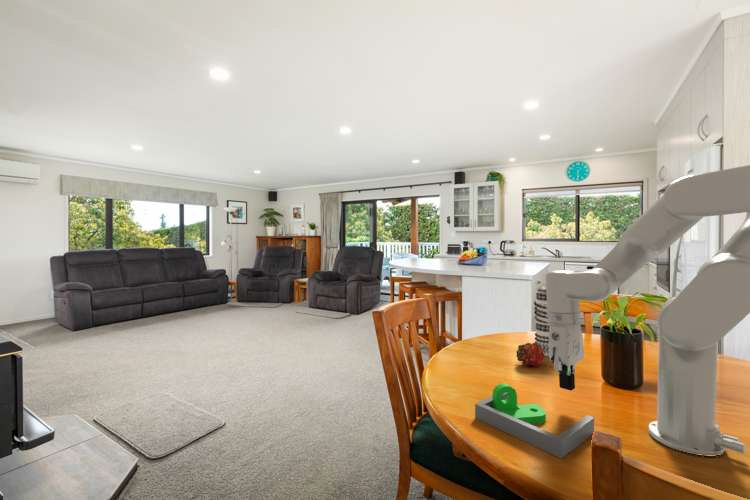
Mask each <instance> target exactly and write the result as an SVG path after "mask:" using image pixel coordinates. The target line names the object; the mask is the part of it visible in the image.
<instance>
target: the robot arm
mask: <svg viewBox="0 0 750 500" xmlns="http://www.w3.org/2000/svg"><path fill="white" fill-rule="evenodd" d="M742 213H746V216H745V218H744V220H743V223H742V224H741V225H740V226H739V228H738V229H737V230H736V231H735V232H734V233H733V235H732V236H731V237H730V238H729V240H727V242H725V243H724V244H723V245H722V246H721V247H720V249H718V250H717V252H716V253H715V254H714V255H712V257H711V258H709V259H708V260H706V261H705V262H704V263H702V265H701V266H700V267H699V269H698V270H697V273H696V275H695V277H694V278H693V279H692V280H690V282H689V283H688V284H686V286H685V287H684V288H683V289H682V290H681V291H680V293H678V294H677V295H676V296H674V297H671V298H669V299H667V300H666V301H665V302H664V303H663V304H662V306H661V307H660V309H659V311H658V316H657V317H658V318H657V328H658V364H657V400H656V401H657V403H656V404H657V406H656V407H657V408H656V409H657V411H656V420H655V421H651V422H649V424H648V433H649V435H650V436H651V437H653V439H655V440H656V441H657V442H659V443H661V444H663V445H664V446H666V447H669V448H670V449H673V450H675V449H676V450H675V451H678V450H679V452H681V451H683V452H682V453H684V452H689V453H693V454H702V455H718V454H722V453H723V452H724V451H726V449H729V450H731V451H733V452H736V453H740V454H742V455H745V453H746V452H745V451H746V444H745V443H743V442H740V441H739V438H738V437H736V436H731V435H729V434H724V433H723V432H722V431H720V425H719V424H716V402H717V401H716V399H717V398H716V397H717V395H716V393H717V375H718V373H717V370H718V343H719V342H720V341H721V340H722V339H723V338H724V337H725V336H727V334H729V333H730V332H731V331H732V330H733V329H734V328H735V327H736V326H738V324H739V323H740V322H742V321H743V320H744V319H745V318H746V317H747V316H748V315H750V164H748V165H742V166H736V167H731V168H726V169H720V170H719V169H718V170H715V171H709V172H702V173H696V174H690V175H686V176H683V177H680V178H677V179H675V180H674V181H672V182H671V183H670V184H669V185H667V187H666V188H665V190H664V192H663V194H662V195H661V196H660V197H659V198H658V199H657V200H656V201H655V202H653V204H652V205H651V206H650V207H649V208H647V210H646V211H645V212H643V214H641V216H639V218H637V219H636V220H635V221H634V222H633V223H632V224H631V225H629V227H627V228H626V230H625V231H624V232H623V233H622V234H621V236H620V238H619V241H618V242H617V243H616V245H615V246H614V247H613V248H612V249H611V251H609V252H608V253H607V254H606V255H605V256H604V257H603V258H602V259H601V260H600V261H599V262H598V263H597V264H596V265H595V266H593V267H592V268H591V269H590V270H587V271H579V272H578V271H577V272H576V271H574V270H568V269H567V270H566V269H565V270H563V269H562V270H560V269H559V270H551V271H547V273H546V275H545V287H546V293H547V312H548V323H549V324H550V325H549V356H548V357H549V361H550V362H551V364H553V370H556V371H557V373H558V380H559V387H560V388H561V389H563V390H568V391H573V390H575V389H576V381H575V379H576V377H575V372H576V363H579V362H581V361H582V360H584V358H585V348H584V347H585V346H584V339H583V331H582V326H581V323H582V321H581V308H580V307H581V306H580V300H581V301H586V302H590V303H591V302H593V303H597V302H602V301H603V302H604V301H605V300H606V299H608V298H609V297H610V296H611V295H612V294H614V293H615V292H616V291H617V290H618V289H619V288H620V287H621V286H623V284H625V283H626V282H627V281H628V280H629V279H630V278H632V277H633V275H635V274H636V273H637V272H638V271H640V270H641V269H642V268H643V267H645V266H646V265H647V264H649V263H650V262H652V261H655V259H657V258H658V257H659V256H660V255H662V254H663V253H664V252H666V251H667V249H669V248H670V247H671V246H672V245H673V244H674V243H675V242H677V241H678V240H679V239H680V238H681V237H682V236H683V235H685V234H686V233H687V232H688V231H690V230H691V229H692V228H693V227H694V226H695V225H696V224H697V223H698V222H700V221H701V220H702V219H703V218H705V217H706V218H707V217H715V216H724V215H725V216H726V215H732V214H742ZM724 453H725V452H724ZM722 455H723V454H722Z"/></svg>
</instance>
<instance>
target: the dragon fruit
mask: <svg viewBox="0 0 750 500" xmlns="http://www.w3.org/2000/svg"><path fill="white" fill-rule="evenodd" d="M517 347H518V348H517V350H516V358H517V361H519V362H521V363H522V364H523V365H524V366H526V367H530V366H533V367H537V368H538V367H539V366H540V364H541V363H542V362H543V361H544V360H545V358H546V356H545V355H544V354H543V348H542V347H541V346H538V345H537V344H536V343H535V342H533V343H530V342H527V343H524V344H519V345H518V346H517Z"/></svg>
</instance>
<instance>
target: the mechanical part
mask: <svg viewBox="0 0 750 500" xmlns="http://www.w3.org/2000/svg"><path fill="white" fill-rule="evenodd" d="M504 393H508V397H507V398H506V399H505V400H501V397H502V395H503V394H504ZM492 396H493V408H494V409H496V410H498V411H501V412H503V413H505V414H508V415H510V416H512V417H515V418H517V419H519V420H522V421H524V422H526V423H529V424H531V425H535V424H536V425H537V424H538V425H539V424H543V423H545V422H546V419H547V414H546V413H547V412H546V410H545V409H544V408H543V407H541V406H540V405H539V404H538V403H530V404H518V394H517V391H516V389H515V388H514V387H512V386H511V385H510V384H508V383H505V382H500V383H499V384H497V385H495V387H494V388H493V390H492Z"/></svg>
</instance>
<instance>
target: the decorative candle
mask: <svg viewBox="0 0 750 500" xmlns="http://www.w3.org/2000/svg"><path fill="white" fill-rule="evenodd" d="M535 292H536V295H535V296H536V298H535V301H534V302H533V304H534V308H533V309H534V315H535V316H534V322H535V323H536V324H535V333H534V336H535V337H534V340H535V341H534V343H536V344H537V345H538V346H541V347H542V348H543V354H544V356H545V357H549V325H550V324H549V323H548V312H547V293H546V286H542V287H541V286H540V287H538V288H537V290H536V291H535Z"/></svg>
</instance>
